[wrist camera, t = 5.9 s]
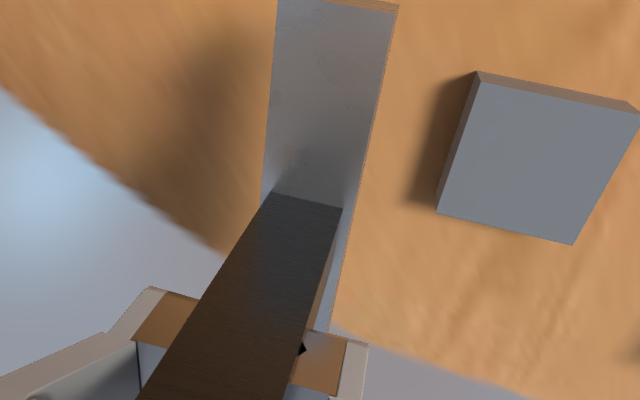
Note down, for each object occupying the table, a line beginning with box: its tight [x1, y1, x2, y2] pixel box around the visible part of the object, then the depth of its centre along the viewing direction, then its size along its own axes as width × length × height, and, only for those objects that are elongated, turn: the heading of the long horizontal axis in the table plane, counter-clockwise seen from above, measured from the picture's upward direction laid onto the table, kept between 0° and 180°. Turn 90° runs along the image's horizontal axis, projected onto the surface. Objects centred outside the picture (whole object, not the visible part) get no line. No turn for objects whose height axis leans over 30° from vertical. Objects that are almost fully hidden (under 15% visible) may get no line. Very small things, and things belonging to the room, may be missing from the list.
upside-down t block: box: [135, 0, 400, 400], centre depth 12 cm, size 14×3×12 cm, turn 172°
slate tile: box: [435, 71, 640, 246], centre depth 22 cm, size 7×7×2 cm
